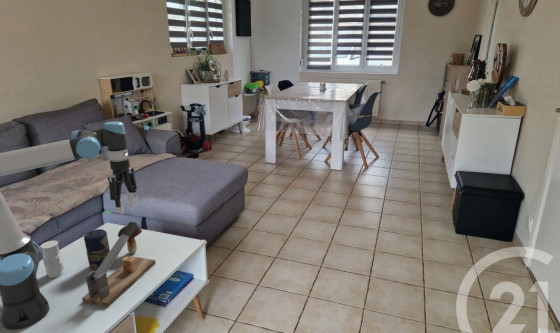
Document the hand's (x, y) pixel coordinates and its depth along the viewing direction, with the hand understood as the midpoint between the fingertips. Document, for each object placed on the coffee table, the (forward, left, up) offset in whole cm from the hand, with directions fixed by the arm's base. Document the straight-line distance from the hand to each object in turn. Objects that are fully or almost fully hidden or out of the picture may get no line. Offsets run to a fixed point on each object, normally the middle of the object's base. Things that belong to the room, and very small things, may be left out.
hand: (126, 209), depth 159 cm
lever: (0, -9, -15) cm, 18 cm away
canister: (-18, -1, -30) cm, 35 cm away
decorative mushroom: (-11, +13, -30) cm, 35 cm away
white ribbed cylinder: (-33, -12, -30) cm, 46 cm away
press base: (0, -9, -30) cm, 31 cm away
